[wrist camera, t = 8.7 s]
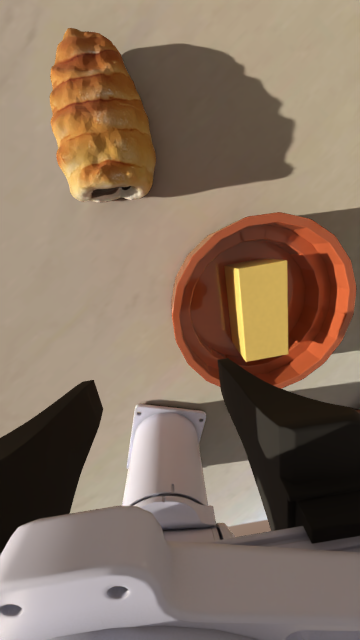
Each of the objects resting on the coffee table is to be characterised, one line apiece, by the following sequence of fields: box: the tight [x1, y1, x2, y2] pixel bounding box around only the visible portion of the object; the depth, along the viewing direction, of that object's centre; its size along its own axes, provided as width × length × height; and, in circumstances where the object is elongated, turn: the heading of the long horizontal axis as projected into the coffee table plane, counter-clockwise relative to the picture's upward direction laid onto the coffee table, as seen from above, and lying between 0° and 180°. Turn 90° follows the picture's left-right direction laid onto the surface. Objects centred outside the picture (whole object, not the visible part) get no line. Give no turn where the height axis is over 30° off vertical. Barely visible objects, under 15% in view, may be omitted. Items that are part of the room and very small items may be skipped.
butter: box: [224, 258, 289, 362], centre depth 18 cm, size 8×4×4 cm, turn 10°
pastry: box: [50, 28, 156, 202], centre depth 14 cm, size 9×7×4 cm
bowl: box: [171, 212, 357, 389], centre depth 19 cm, size 14×14×4 cm
